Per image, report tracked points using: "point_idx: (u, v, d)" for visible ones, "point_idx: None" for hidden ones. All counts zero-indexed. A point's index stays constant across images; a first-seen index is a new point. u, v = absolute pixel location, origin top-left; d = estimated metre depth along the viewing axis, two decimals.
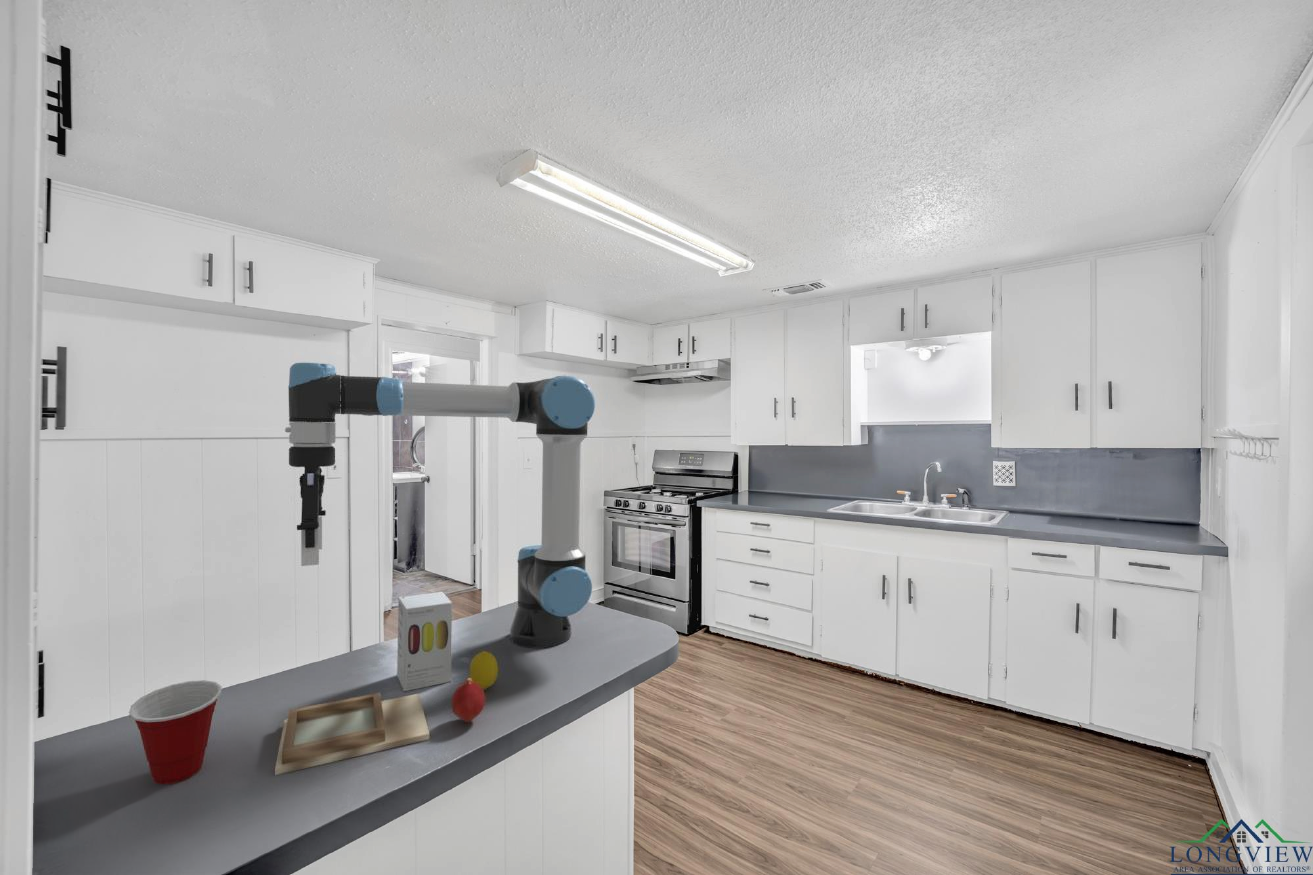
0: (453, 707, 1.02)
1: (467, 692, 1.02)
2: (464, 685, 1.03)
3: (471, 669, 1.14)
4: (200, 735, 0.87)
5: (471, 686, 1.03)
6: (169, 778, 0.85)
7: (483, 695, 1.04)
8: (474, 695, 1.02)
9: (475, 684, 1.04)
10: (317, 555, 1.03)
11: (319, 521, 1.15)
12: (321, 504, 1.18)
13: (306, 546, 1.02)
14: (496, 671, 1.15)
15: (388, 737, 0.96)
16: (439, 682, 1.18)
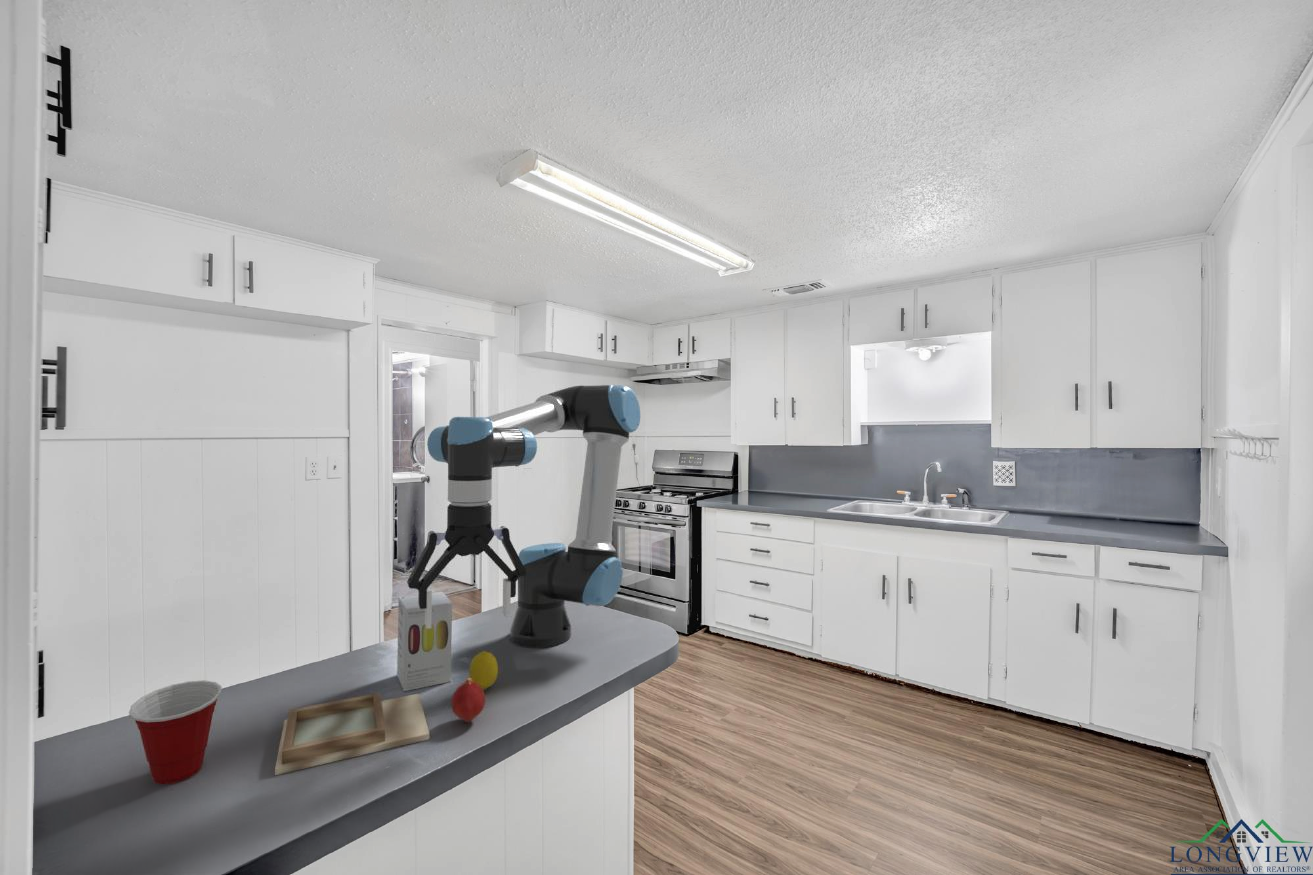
0: (453, 707, 1.02)
1: (468, 692, 1.02)
2: (464, 685, 1.03)
3: (471, 669, 1.14)
4: (200, 735, 0.87)
5: (471, 686, 1.03)
6: (169, 778, 0.85)
7: (483, 695, 1.04)
8: (474, 695, 1.02)
9: (475, 684, 1.04)
10: (426, 618, 0.99)
11: (506, 586, 1.05)
12: (521, 568, 1.06)
13: None
14: (496, 671, 1.15)
15: (388, 737, 0.96)
16: (439, 682, 1.18)
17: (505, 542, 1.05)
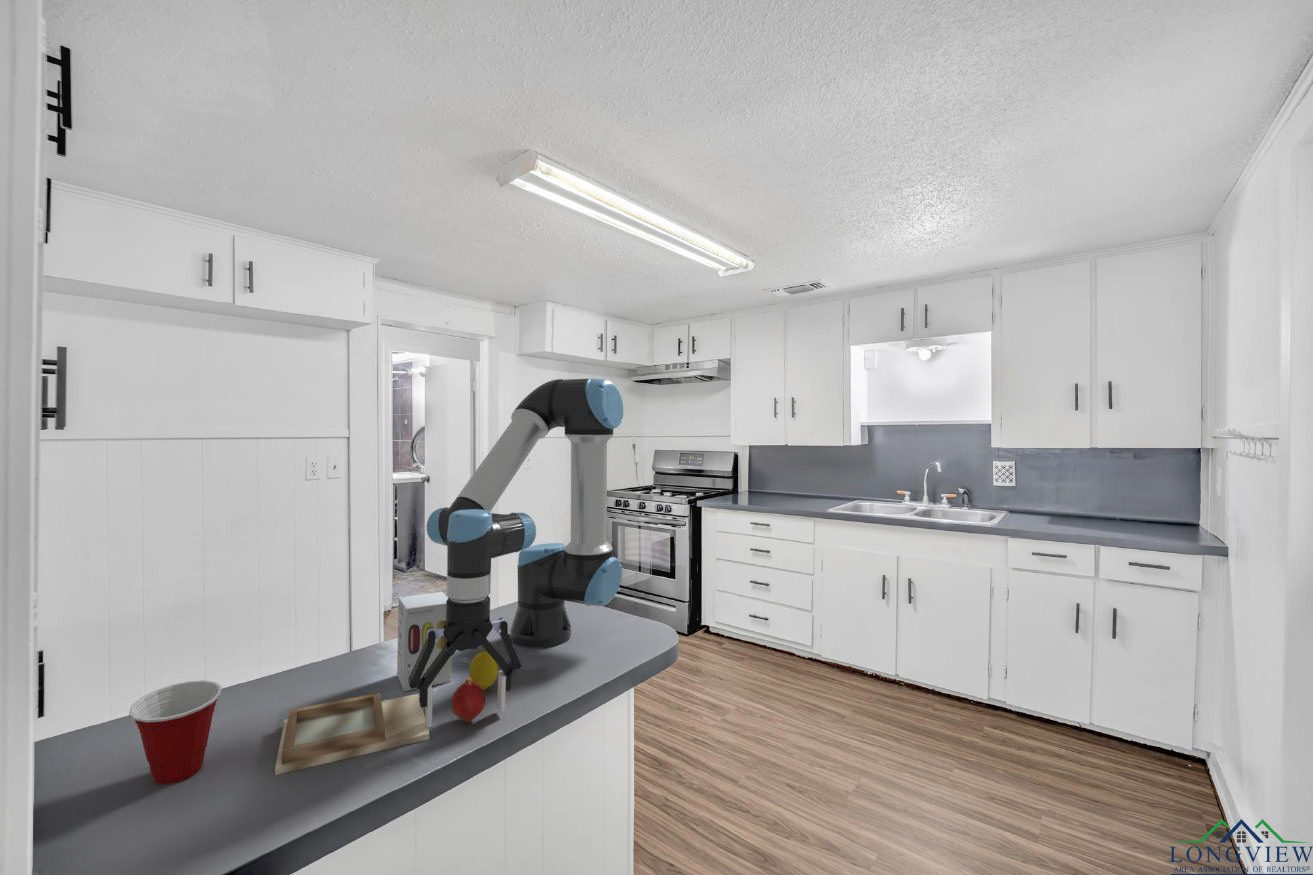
0: (453, 707, 1.02)
1: (467, 692, 1.02)
2: (464, 685, 1.03)
3: (471, 669, 1.14)
4: (200, 735, 0.87)
5: (471, 686, 1.03)
6: (169, 778, 0.85)
7: (483, 695, 1.04)
8: (474, 695, 1.02)
9: (475, 684, 1.04)
10: (427, 717, 0.99)
11: (501, 680, 1.06)
12: (516, 662, 1.07)
13: None
14: (496, 671, 1.15)
15: (388, 737, 0.96)
16: (439, 682, 1.18)
17: (503, 635, 1.05)
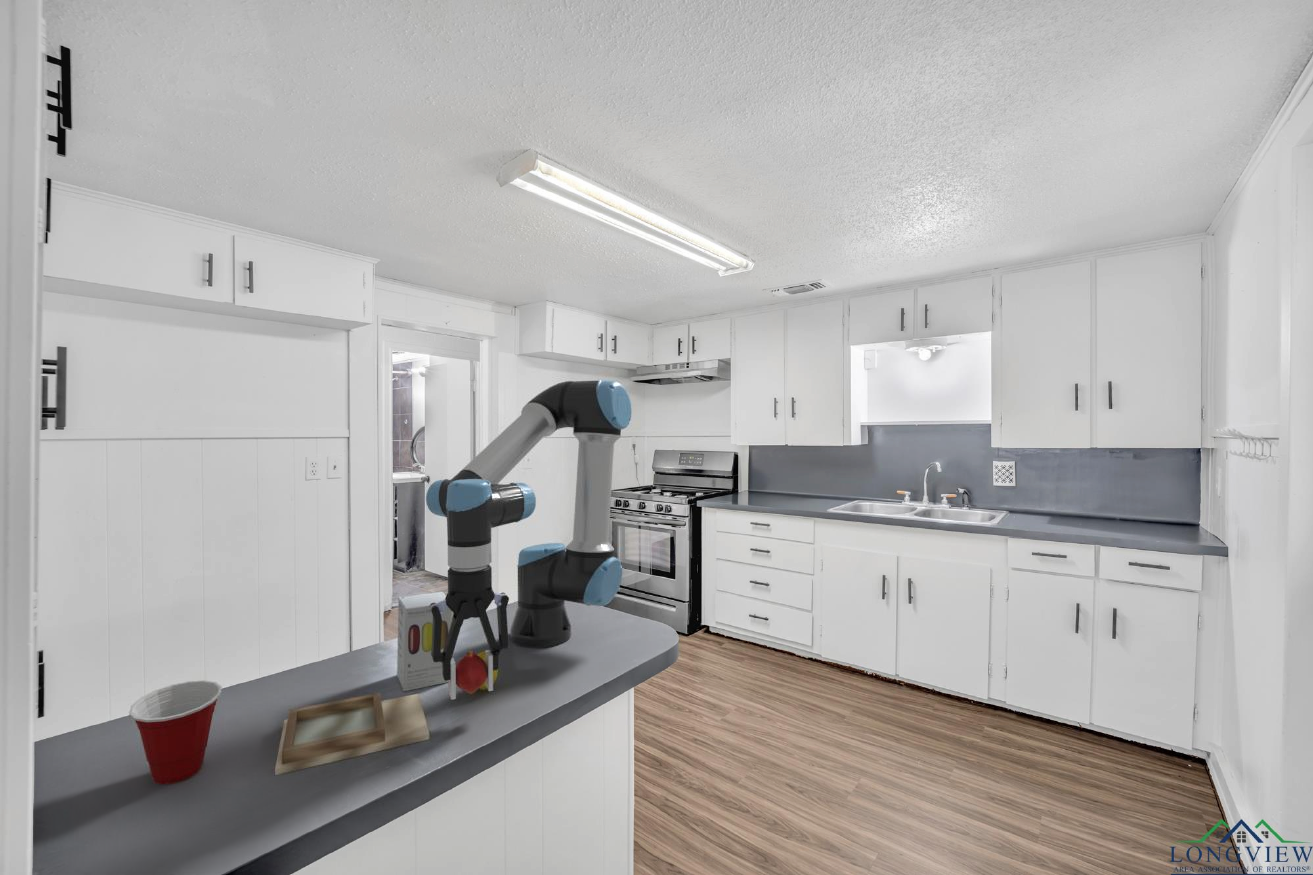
0: None
1: (469, 664, 1.02)
2: (465, 658, 1.03)
3: None
4: (200, 735, 0.87)
5: (473, 658, 1.03)
6: (169, 778, 0.85)
7: (485, 667, 1.04)
8: (475, 667, 1.02)
9: (476, 656, 1.04)
10: (451, 690, 1.02)
11: (488, 660, 1.05)
12: (505, 640, 1.06)
13: None
14: (496, 671, 1.15)
15: (388, 737, 0.96)
16: (439, 682, 1.18)
17: (501, 609, 1.05)
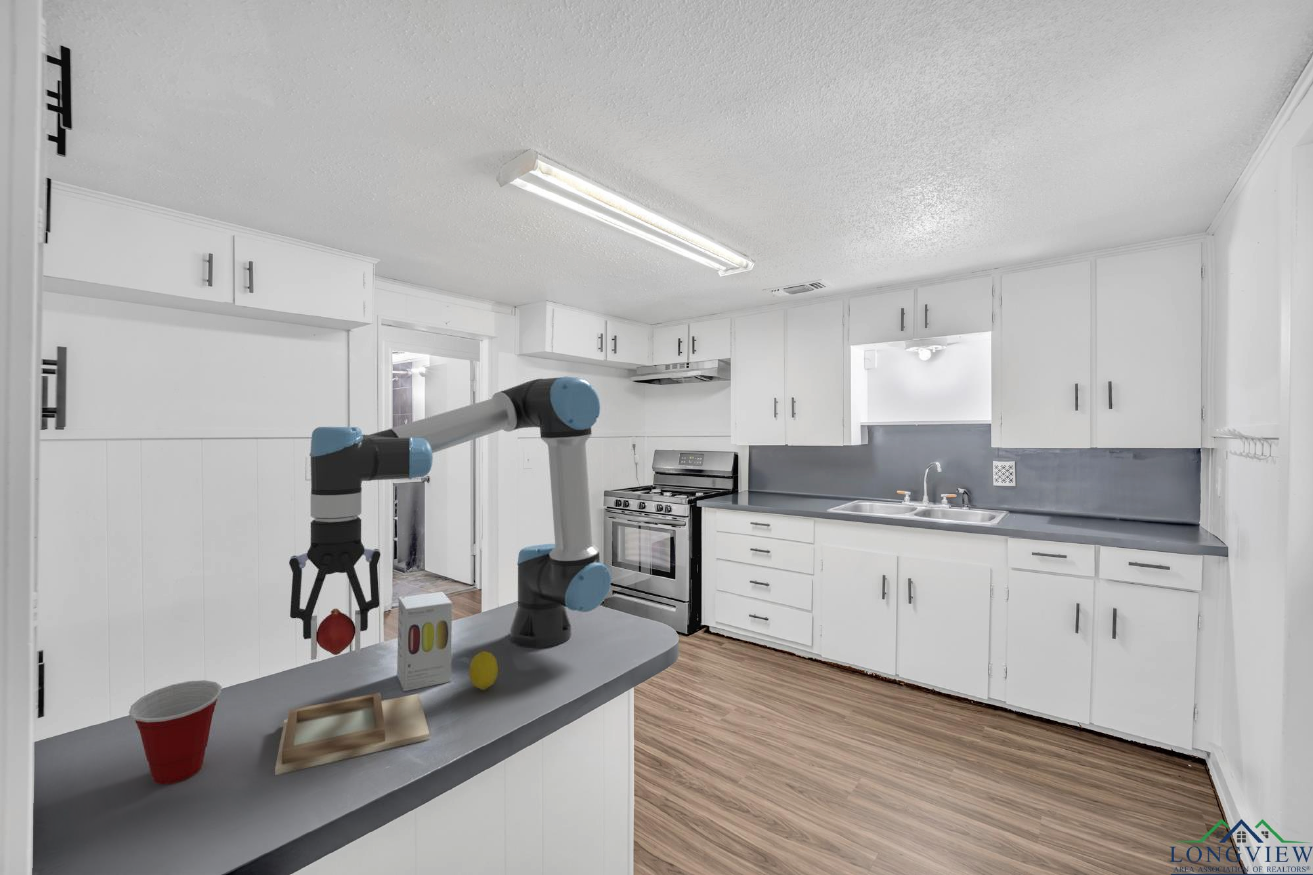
0: (317, 638, 0.96)
1: (332, 622, 0.96)
2: (330, 615, 0.97)
3: (471, 669, 1.14)
4: (200, 735, 0.87)
5: (337, 616, 0.97)
6: (169, 778, 0.85)
7: (351, 626, 0.98)
8: (339, 625, 0.96)
9: (343, 615, 0.98)
10: (311, 649, 0.95)
11: None
12: (375, 599, 0.99)
13: None
14: (496, 671, 1.15)
15: (388, 737, 0.96)
16: (439, 682, 1.18)
17: (371, 566, 0.99)
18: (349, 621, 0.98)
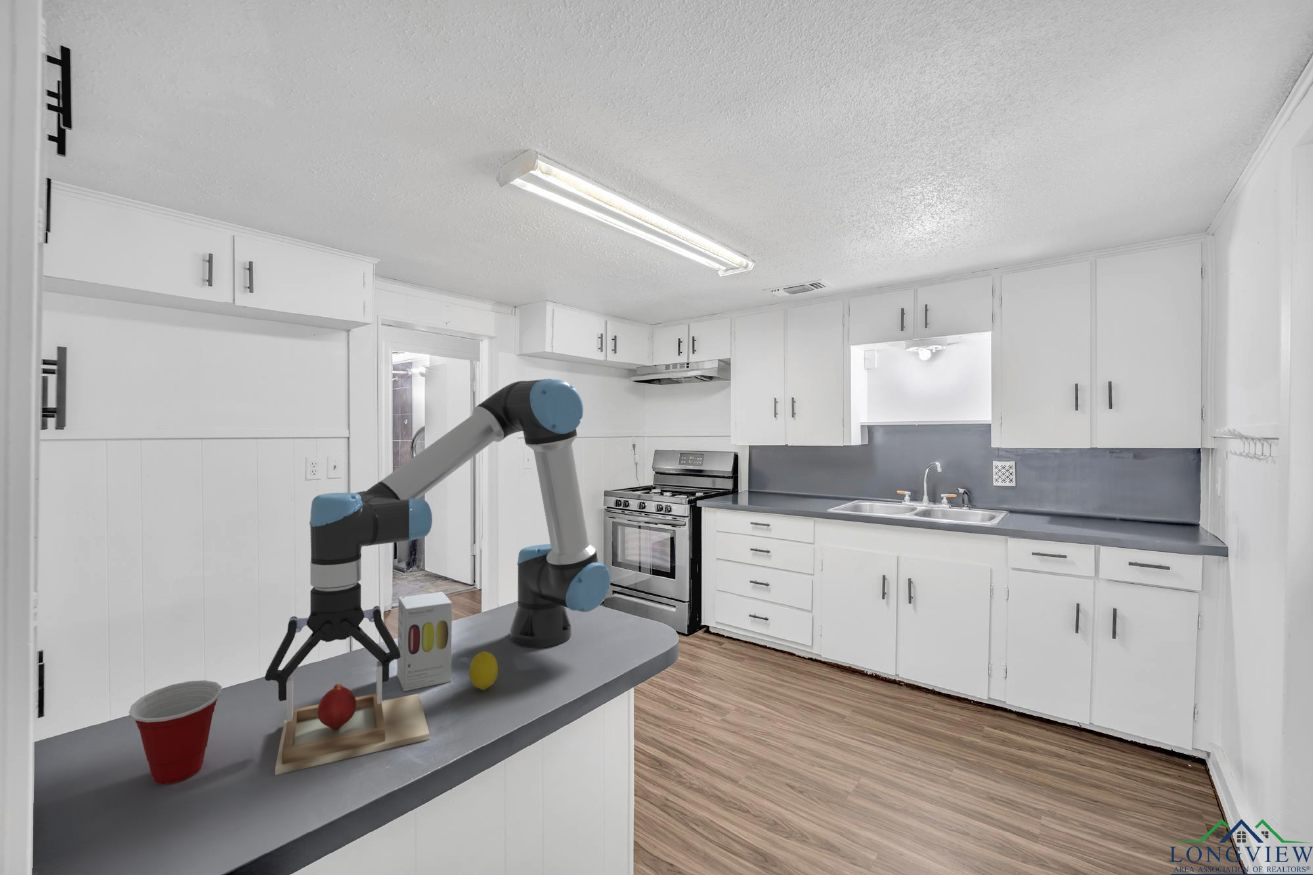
0: (318, 713, 0.96)
1: (334, 698, 0.96)
2: (332, 690, 0.97)
3: (471, 669, 1.14)
4: (200, 735, 0.87)
5: (340, 692, 0.97)
6: (169, 778, 0.85)
7: (353, 702, 0.98)
8: (341, 701, 0.97)
9: (345, 690, 0.98)
10: None
11: (377, 671, 1.00)
12: (394, 651, 1.01)
13: None
14: (496, 671, 1.15)
15: (388, 737, 0.96)
16: (439, 682, 1.18)
17: (376, 624, 1.00)
18: (351, 696, 0.98)
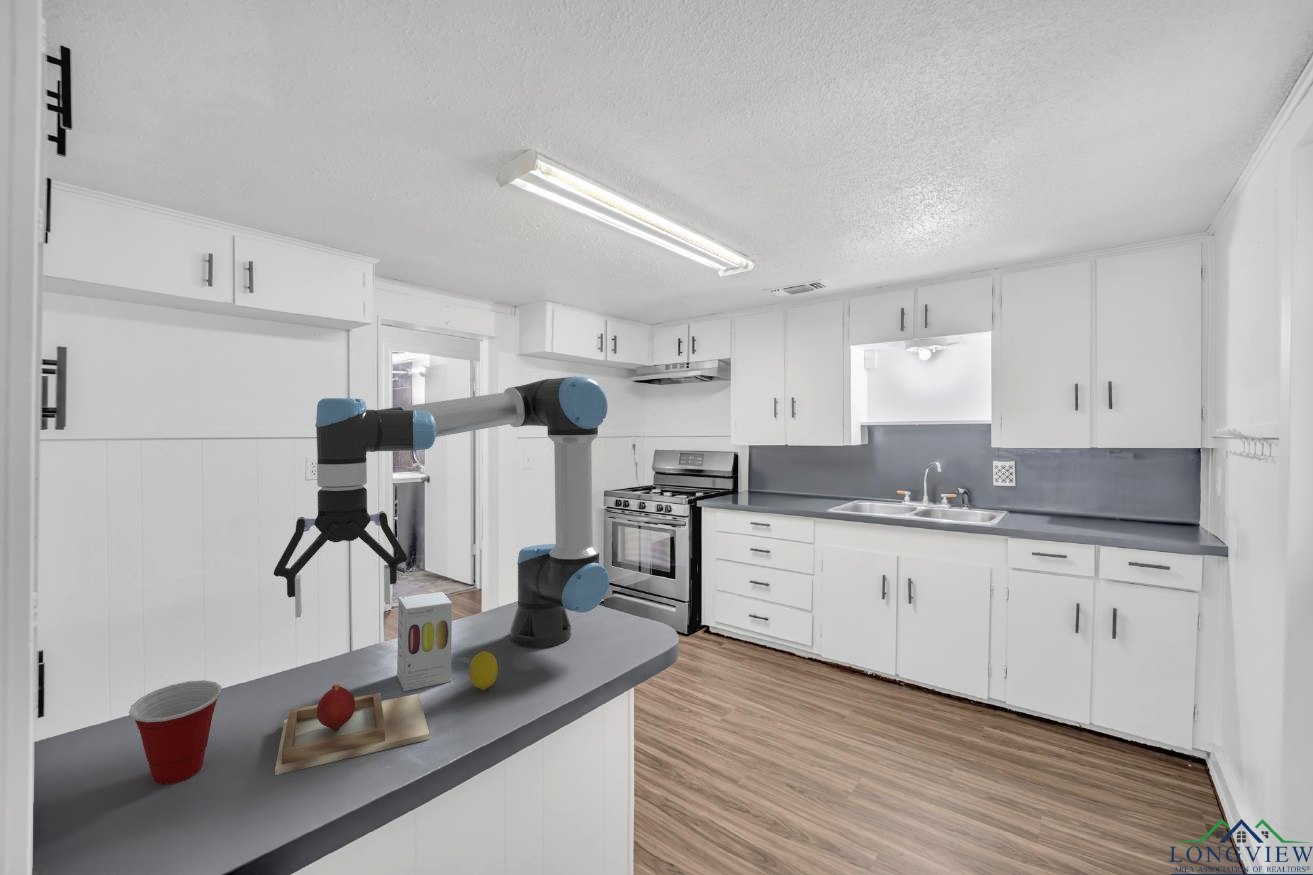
0: (317, 714, 0.96)
1: (333, 698, 0.96)
2: (330, 691, 0.97)
3: (471, 669, 1.14)
4: (200, 735, 0.87)
5: (338, 692, 0.97)
6: (169, 778, 0.85)
7: (351, 701, 0.98)
8: (339, 701, 0.97)
9: (343, 690, 0.98)
10: (295, 607, 0.96)
11: (385, 572, 1.02)
12: (401, 554, 1.03)
13: None
14: (496, 671, 1.15)
15: (388, 737, 0.96)
16: (439, 682, 1.18)
17: (383, 527, 1.02)
18: (349, 696, 0.98)
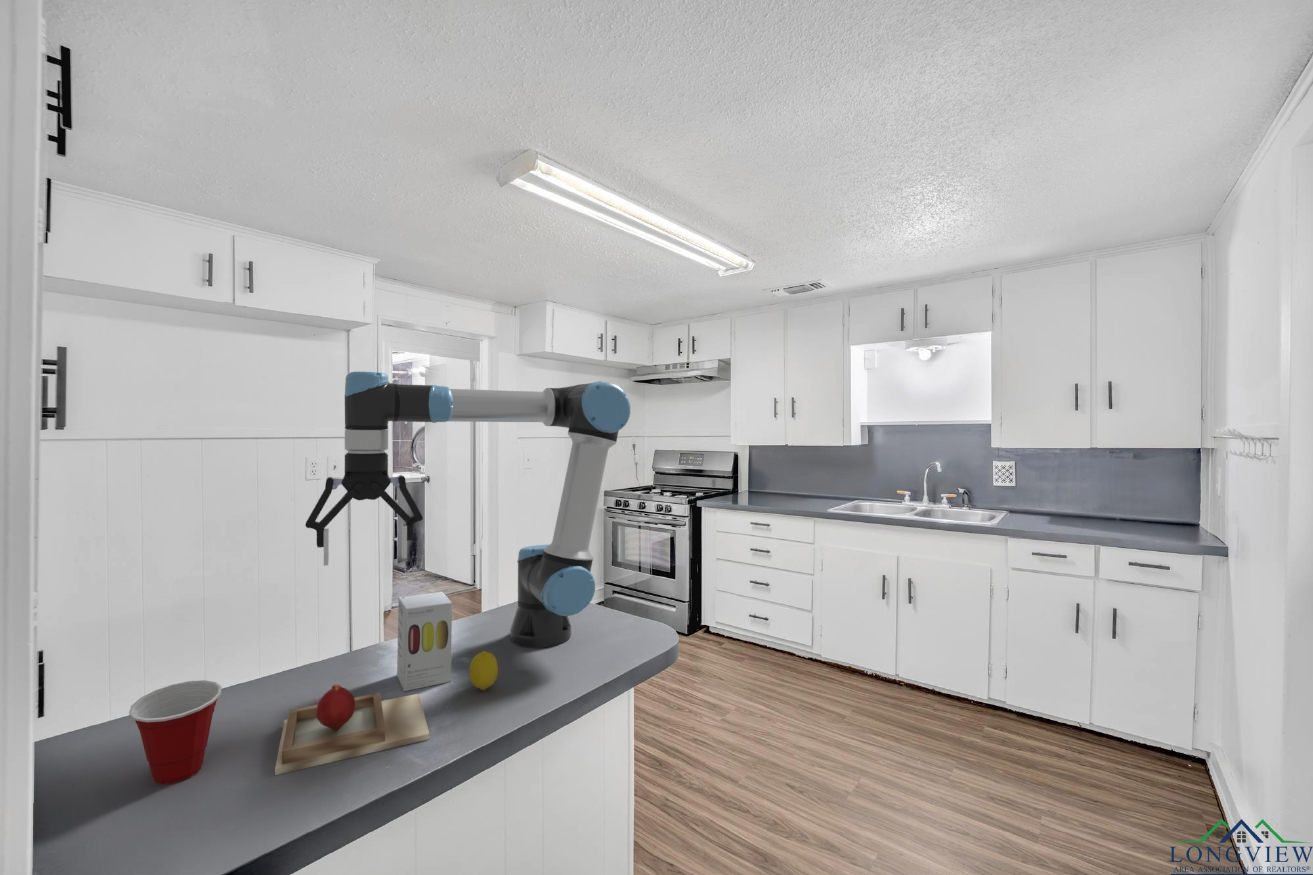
0: (317, 714, 0.96)
1: (333, 698, 0.96)
2: (330, 691, 0.97)
3: (471, 669, 1.14)
4: (200, 735, 0.87)
5: (338, 692, 0.97)
6: (169, 778, 0.85)
7: (351, 701, 0.98)
8: (339, 701, 0.97)
9: (343, 690, 0.98)
10: None
11: (402, 529, 1.14)
12: (417, 514, 1.15)
13: None
14: (496, 671, 1.15)
15: (388, 737, 0.96)
16: (439, 682, 1.18)
17: (401, 489, 1.14)
18: (349, 696, 0.98)
